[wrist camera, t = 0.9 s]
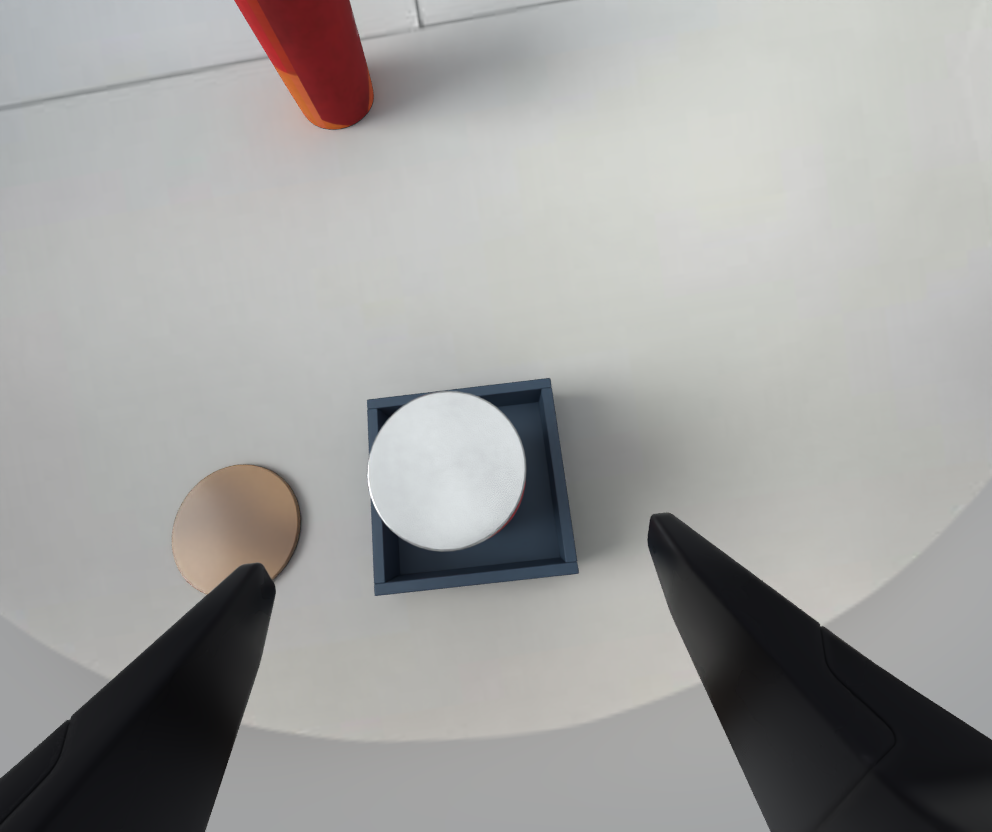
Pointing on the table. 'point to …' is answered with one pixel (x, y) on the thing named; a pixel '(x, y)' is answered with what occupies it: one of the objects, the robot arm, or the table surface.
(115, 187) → the table surface
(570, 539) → the crate
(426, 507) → the can
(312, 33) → the coffee cup
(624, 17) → the table surface
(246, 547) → the coaster
